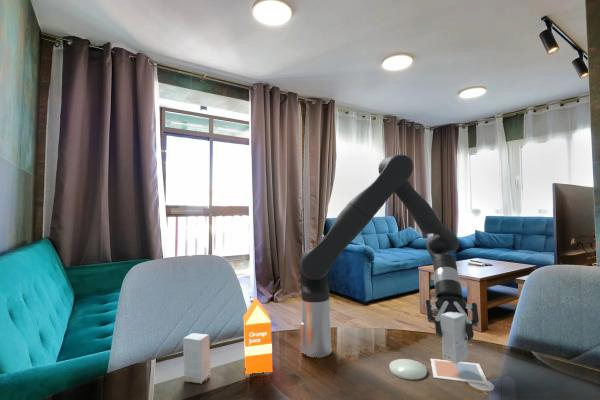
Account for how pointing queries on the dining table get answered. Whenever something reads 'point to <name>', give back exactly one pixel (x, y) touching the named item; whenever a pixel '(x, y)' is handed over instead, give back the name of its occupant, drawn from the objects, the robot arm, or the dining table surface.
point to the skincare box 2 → (454, 337)
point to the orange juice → (257, 339)
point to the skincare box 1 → (196, 356)
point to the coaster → (408, 369)
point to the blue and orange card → (458, 371)
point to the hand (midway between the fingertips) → (455, 337)
